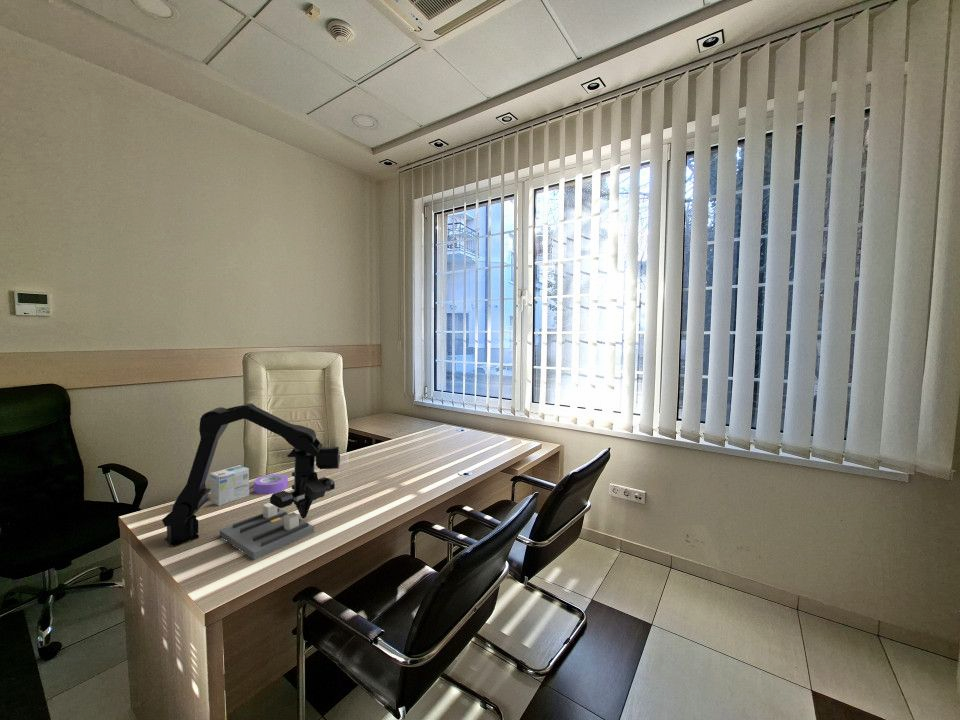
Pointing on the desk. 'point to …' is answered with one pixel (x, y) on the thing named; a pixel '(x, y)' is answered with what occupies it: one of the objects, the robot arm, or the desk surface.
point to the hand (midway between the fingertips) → (303, 517)
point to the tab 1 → (269, 510)
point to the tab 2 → (291, 521)
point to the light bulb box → (229, 485)
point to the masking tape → (270, 484)
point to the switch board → (264, 534)
